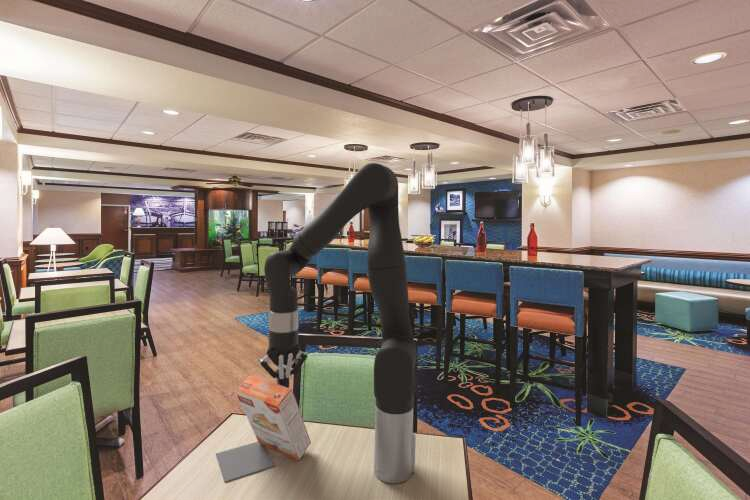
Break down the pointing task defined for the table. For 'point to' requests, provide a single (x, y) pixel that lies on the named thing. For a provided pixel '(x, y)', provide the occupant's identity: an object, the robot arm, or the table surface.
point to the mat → (244, 461)
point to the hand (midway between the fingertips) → (283, 390)
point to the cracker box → (274, 416)
